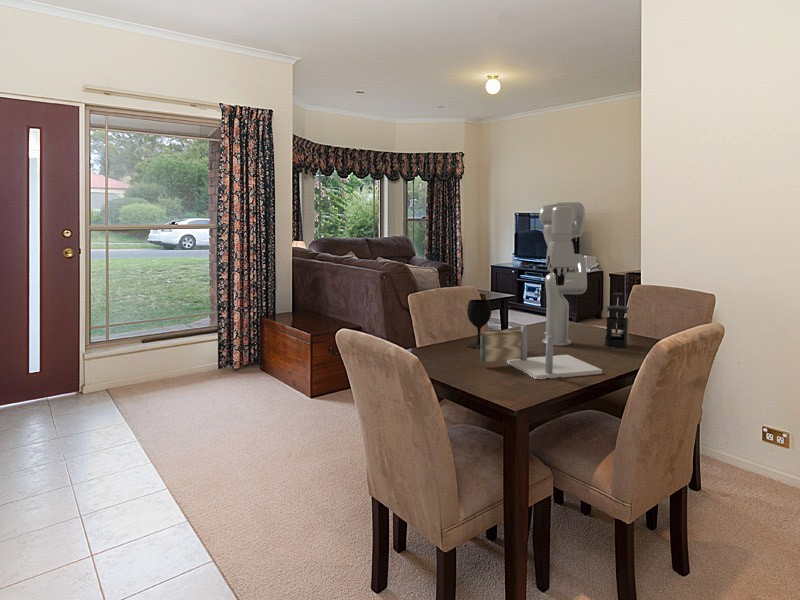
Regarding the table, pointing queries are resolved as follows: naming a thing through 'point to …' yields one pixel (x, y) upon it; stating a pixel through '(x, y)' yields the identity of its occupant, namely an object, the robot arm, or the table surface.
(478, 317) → the wine glass
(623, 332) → the french press
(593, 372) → the white base with posts
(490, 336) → the beige wavy patterned slab
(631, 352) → the table surface
